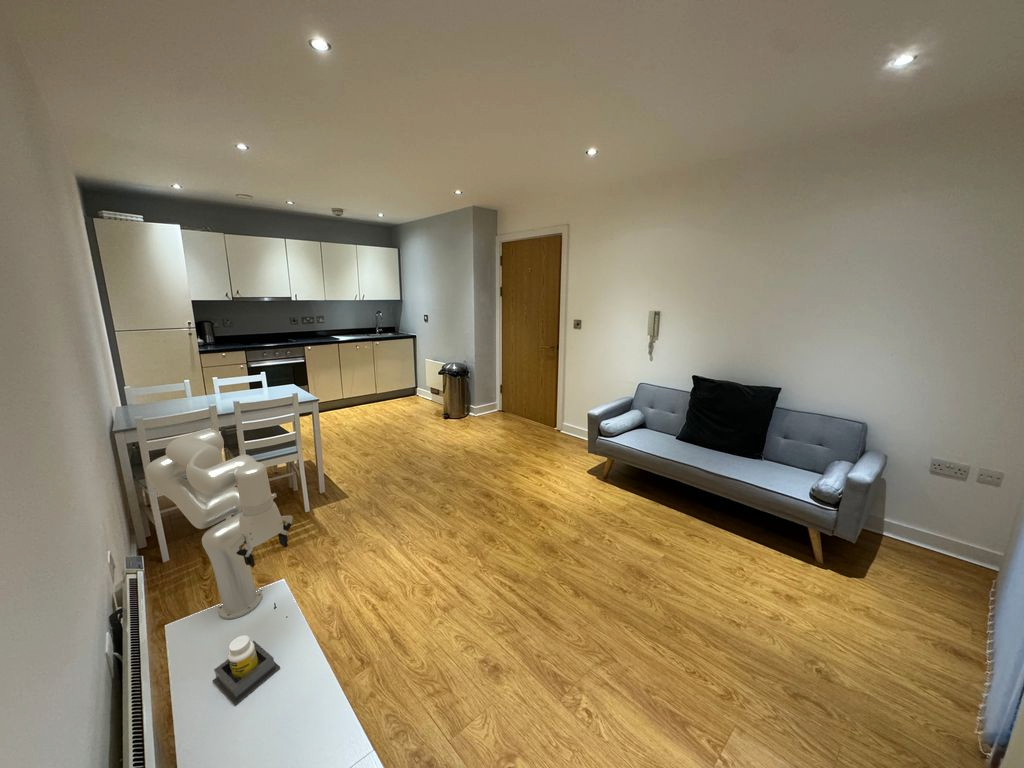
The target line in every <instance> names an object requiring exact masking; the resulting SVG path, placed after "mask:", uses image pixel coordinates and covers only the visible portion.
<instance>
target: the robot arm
mask: <svg viewBox="0 0 1024 768" xmlns="http://www.w3.org/2000/svg"><path fill="white" fill-rule="evenodd" d="M224 444H225V442H224V438H223V436H222V434H221V433H219V431H217V430H215V429H212V428H205V429H201V430H198V431H196V432H195V431H194V432H193V433H189V434H186V435H182V436H181V437H177V438H175V439H173V440H172V441H170V442H169V443H168V444H167V446H166V447H165V455H163V456H160V457H157V458H156V459H153V460H152V461H151V462H150V463H149V464H147V466H146V467H145V476H146V478H147V481H149V484H150V485H151V486H152V487H153V488H154V490H155V491H157V492H158V493H159V494H161V495H163V496H165V498H167V499H169V500H170V501H172V502H173V503H174V504H175V506H176V507H177V508H178V509H179V511H181V513H182V514H183V515H184V516H185V518H186V519H187V520H188V521H189V522H190V524H191V525H192V526H194V527H195V528H196V529H199V530H204V529H207V528H209V527H211V528H209V529H208V530H207V531H205V533H204V534H203V535H202V537H201V544H202V546H203V549H204V550H205V552H206V555H207V556H208V558H209V561H210V563H211V567H212V570H213V573H214V577H215V581H216V582H215V583H216V585H217V589H218V592H219V596H220V600H221V601H220V603H219V605H221V604H223V605H221V606H219V605H218V608H217V611H218V612H217V613H218V616H219V617H221V618H222V619H224V620H225V619H226V620H231V619H237V618H240V617H243V616H245V615H247V614H249V613H250V612H252V611H253V610H255V609H256V607H258V605H260V603H261V602H262V599H263V592H262V589H260V588H259V587H256V586H255V582H254V577H253V574H252V573H253V572H252V568H254V567H255V566H256V563H255V559H254V556H253V553H252V551H254V548H255V547H257V546H260V545H261V544H263V543H265V542H267V541H268V540H270V539H272V538H273V537H275V536H278V540H279V545H280V546H282V547H284V548H287V547H289V545H288V542H289V540H288V539H289V538H288V534H289V530H290V528H291V527H292V522H293V519H294V517H293V516H292V515H291V514H290V515H281V513H280V510H279V508H278V506H277V505H278V504H276V502H275V501H274V499H276V498H277V497H278V496H277V493H276V492H274V493H272V492H271V491H272V490H271V486H270V481H269V477H268V470H267V466H266V465H265V464H264V463H262V462H259V461H257V460H256V459H255V458H254V457H252V455H249V454H240V455H238V456H235V457H233V458H231V459H228V460H226V461H223V462H221V459H222V450H223V449H224V446H225V445H224ZM185 476H186V479H185V478H183V477H185ZM283 522H285V523H283ZM215 524H216V525H215ZM213 525H214V526H213ZM242 545H243V546H242ZM241 546H242V548H240V547H241ZM258 590H260V591H258ZM256 591H257V592H256Z"/></svg>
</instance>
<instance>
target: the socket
mask: <svg viewBox="0 0 1024 768" xmlns="http://www.w3.org/2000/svg"><path fill="white" fill-rule="evenodd" d="M251 641H252V642H253V643H254V646H255V650H256V654H257V658H258V662H259V665H258V666H257V667H256V668H255V669H253V670H252V671H251V672H250V673H248V674H247V675H246V676H245V677H243V678H242V679H241V680H240V681H238V682H236V681H235V680H234V678H233V675H232V671H231V667H230V664H229V660H228V659H226V660H225V661H224V662H222V663H220V664H219V665H218V666H217V667H216V668H214V673H215V678H214V679H212V680H211V681H212V683H213V684H214V685H215V686H216V688H218V690H219V691H220V692H221V693H222V694H223V695H224V696H225V697H226V699H228V701H229V702H230V703H232V705H233V706H234V707H237V706H238V705H239V704H240V703H242V701H243V700H244V699H246V698H248V697H249V695H251V694H253V692H255V690H256V689H258V688H259V687H260V686H261V685H264V683H265V682H266V681H268V679H270V678H271V677H273V675H274V674H276V673H278V671H280V670H281V666H280V665H278V663H276V661H275V658H274V657H273V656H272V655H271V654H270V653H269V652H267V651H266V650H265V649H264V648H263V647H262V646H261V645H260V644H259V643H257V642H256V641H255V640H251Z"/></svg>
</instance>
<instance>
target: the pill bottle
mask: <svg viewBox="0 0 1024 768" xmlns="http://www.w3.org/2000/svg"><path fill="white" fill-rule="evenodd" d="M252 641H253V640H250V636H248V635H244V634H243V635H239V636H237V637H235V638H234V639H233V640H232V641H230V644H229V645H228V648H229V652H228V655H227V660H229V664H230V667H231V671H232V675H233V678H234V680H235V681H236V682H238V681H240V680H241V679H242V678H243V677H245V676H246V675H247V674H248V673H250V672H251V671H252V670H253V669H255V668H256V667H257V666H258V665H259V662H258V658H257V654H256V650H255V646H254V643H253V642H252Z"/></svg>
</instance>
